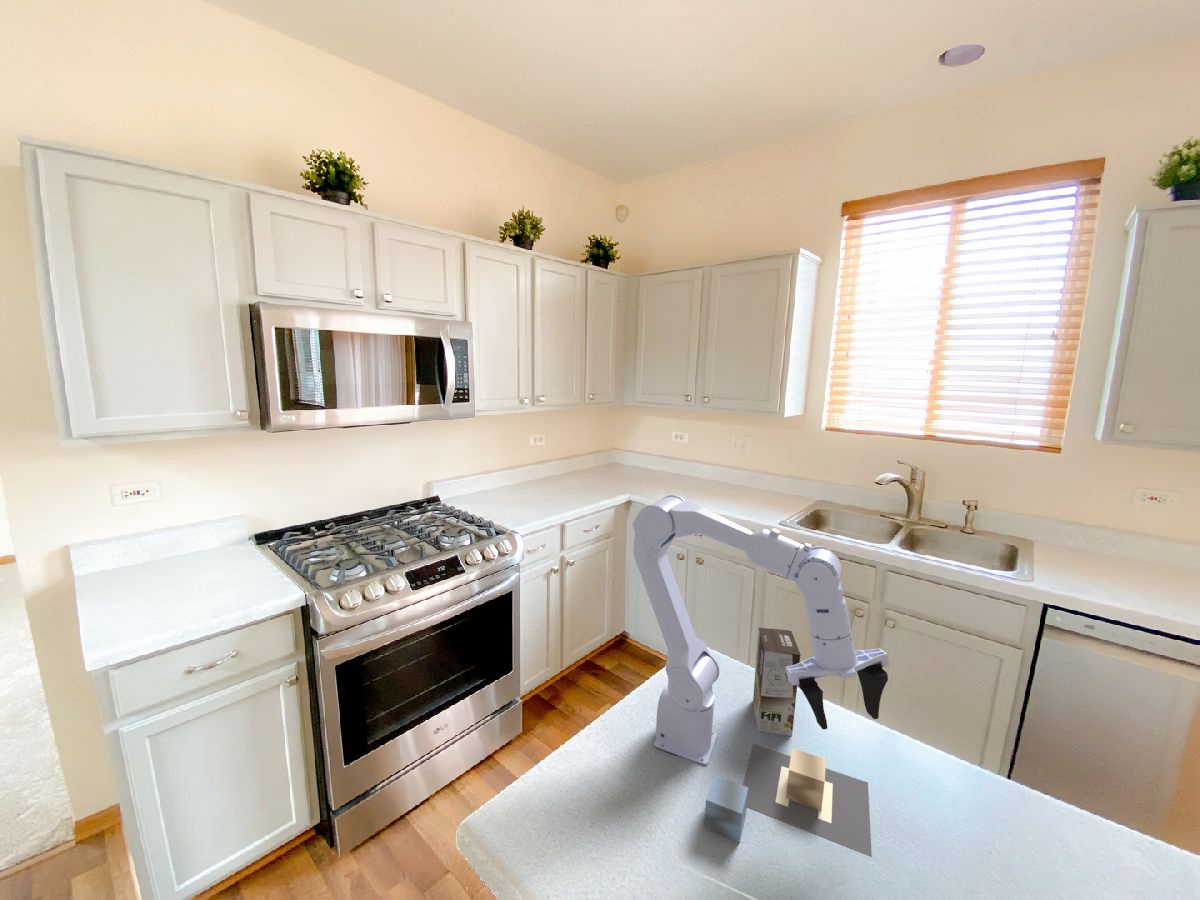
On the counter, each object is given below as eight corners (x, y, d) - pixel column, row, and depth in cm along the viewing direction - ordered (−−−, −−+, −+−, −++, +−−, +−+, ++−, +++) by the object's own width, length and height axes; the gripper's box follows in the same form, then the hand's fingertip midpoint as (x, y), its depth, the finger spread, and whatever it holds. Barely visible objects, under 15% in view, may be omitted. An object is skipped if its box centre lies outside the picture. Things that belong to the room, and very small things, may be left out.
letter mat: (737, 804, 76) (737, 803, 76) (753, 744, 88) (753, 743, 88) (871, 857, 68) (871, 856, 68) (867, 783, 80) (867, 782, 80)
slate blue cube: (703, 830, 71) (706, 799, 71) (712, 803, 76) (714, 774, 75) (739, 845, 69) (741, 813, 68) (745, 817, 74) (748, 787, 73)
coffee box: (793, 737, 90) (801, 655, 88) (756, 731, 91) (763, 650, 89) (785, 705, 99) (792, 629, 96) (752, 700, 100) (758, 625, 98)
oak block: (786, 798, 77) (788, 769, 76) (789, 775, 81) (792, 748, 80) (821, 811, 75) (824, 782, 74) (822, 787, 79) (825, 759, 78)
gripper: (792, 652, 70) (811, 746, 70) (894, 632, 70) (912, 726, 70) (775, 633, 77) (791, 718, 77) (867, 614, 77) (883, 700, 77)
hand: (847, 720), depth 74 cm, fingers open, 7 cm apart
